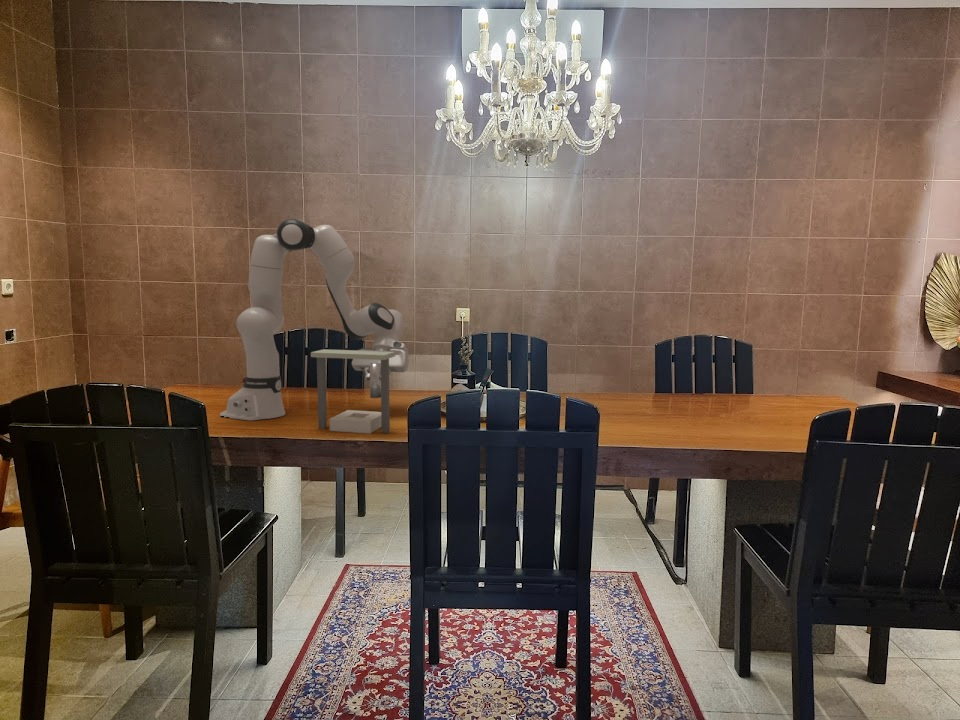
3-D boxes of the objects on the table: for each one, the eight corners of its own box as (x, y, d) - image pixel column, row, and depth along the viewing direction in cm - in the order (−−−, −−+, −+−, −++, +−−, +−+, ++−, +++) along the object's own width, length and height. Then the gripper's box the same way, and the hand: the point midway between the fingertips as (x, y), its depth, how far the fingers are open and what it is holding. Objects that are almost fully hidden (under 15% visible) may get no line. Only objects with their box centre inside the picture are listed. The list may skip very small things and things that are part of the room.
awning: (312, 430, 208) (310, 352, 205) (325, 424, 217) (323, 349, 213) (385, 435, 203) (384, 355, 199) (395, 428, 211) (394, 351, 208)
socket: (329, 430, 208) (329, 418, 207) (348, 421, 221) (347, 409, 221) (370, 433, 205) (370, 421, 204) (386, 423, 218) (386, 412, 218)
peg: (368, 397, 225) (367, 364, 224) (372, 395, 229) (372, 362, 227) (379, 398, 224) (378, 364, 223) (383, 396, 228) (382, 362, 226)
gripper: (355, 342, 233) (344, 373, 225) (408, 344, 229) (399, 375, 220) (360, 353, 238) (350, 383, 230) (413, 354, 234) (404, 385, 225)
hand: (374, 379), depth 225 cm, fingers closed on peg, 4 cm apart
